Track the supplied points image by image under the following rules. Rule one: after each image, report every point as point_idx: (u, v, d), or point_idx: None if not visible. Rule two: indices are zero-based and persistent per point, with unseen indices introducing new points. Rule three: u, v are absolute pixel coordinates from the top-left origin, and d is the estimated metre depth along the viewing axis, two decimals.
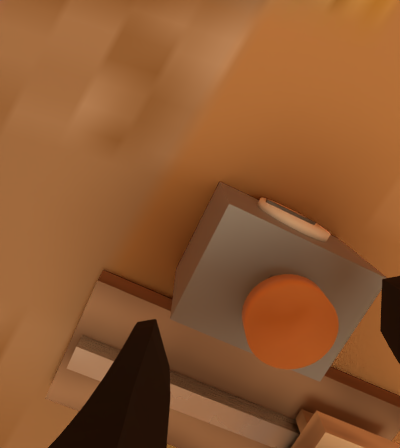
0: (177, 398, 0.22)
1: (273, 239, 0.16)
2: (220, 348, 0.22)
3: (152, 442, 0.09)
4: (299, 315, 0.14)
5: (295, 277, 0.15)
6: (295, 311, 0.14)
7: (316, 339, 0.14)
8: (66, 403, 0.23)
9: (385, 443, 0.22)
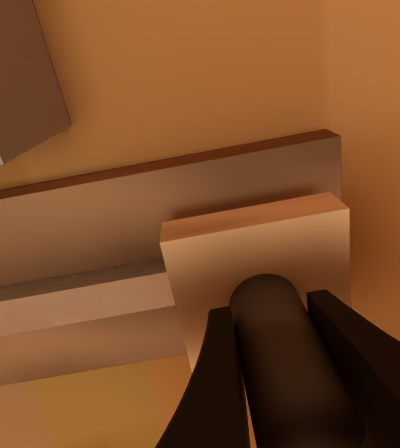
0: None
1: None
2: None
3: (245, 427, 0.09)
4: None
5: None
6: None
7: None
8: None
9: (296, 203, 0.12)
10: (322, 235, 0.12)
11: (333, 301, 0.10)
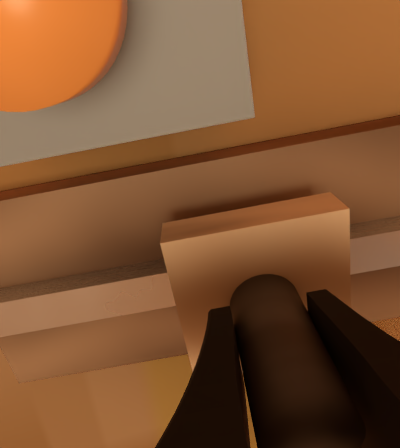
0: (139, 294, 0.14)
1: None
2: (151, 198, 0.14)
3: (245, 427, 0.09)
4: None
5: None
6: None
7: None
8: (44, 375, 0.17)
9: (296, 204, 0.12)
10: (322, 235, 0.12)
11: (333, 301, 0.10)
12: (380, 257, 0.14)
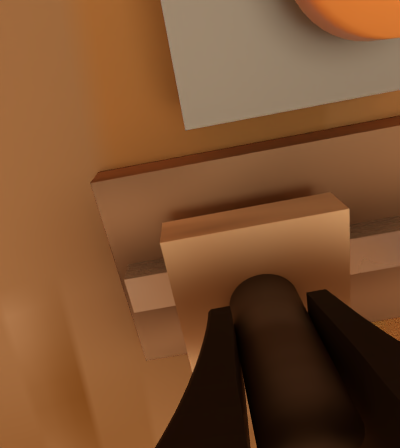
0: None
1: None
2: (312, 168, 0.14)
3: (245, 426, 0.09)
4: None
5: None
6: None
7: None
8: (173, 352, 0.17)
9: (296, 203, 0.12)
10: (322, 235, 0.12)
11: (333, 301, 0.10)
12: None
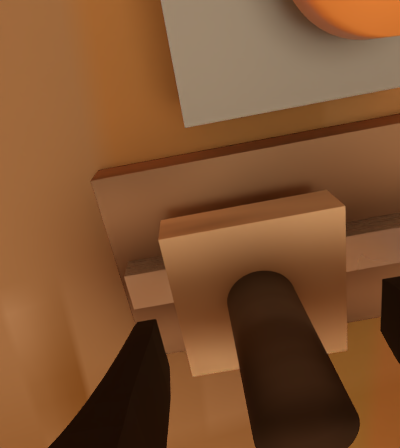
0: None
1: None
2: (310, 166, 0.14)
3: (152, 442, 0.09)
4: None
5: None
6: None
7: None
8: (172, 348, 0.17)
9: (293, 201, 0.12)
10: (318, 232, 0.12)
11: None
12: None
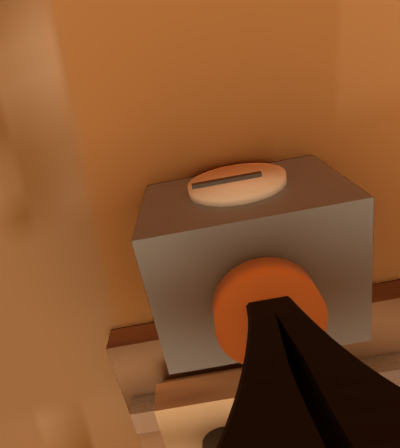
0: None
1: (207, 243, 0.12)
2: None
3: None
4: None
5: (243, 267, 0.12)
6: None
7: None
8: None
9: None
10: None
11: (291, 308, 0.10)
12: None
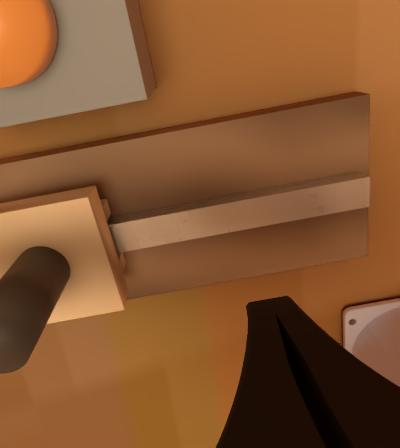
0: None
1: None
2: (98, 167, 0.18)
3: None
4: None
5: None
6: None
7: (15, 12, 0.10)
8: None
9: (64, 194, 0.17)
10: (73, 217, 0.16)
11: (291, 308, 0.10)
12: (277, 213, 0.18)
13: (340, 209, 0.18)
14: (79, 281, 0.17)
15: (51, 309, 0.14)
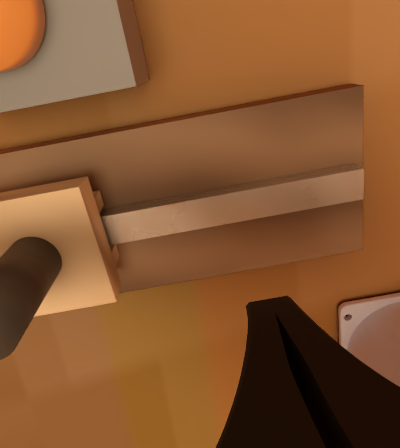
0: None
1: None
2: (90, 158, 0.18)
3: None
4: None
5: None
6: None
7: None
8: None
9: (56, 184, 0.16)
10: (64, 207, 0.16)
11: (291, 308, 0.10)
12: (270, 205, 0.18)
13: (334, 202, 0.18)
14: (71, 272, 0.17)
15: (41, 298, 0.14)
